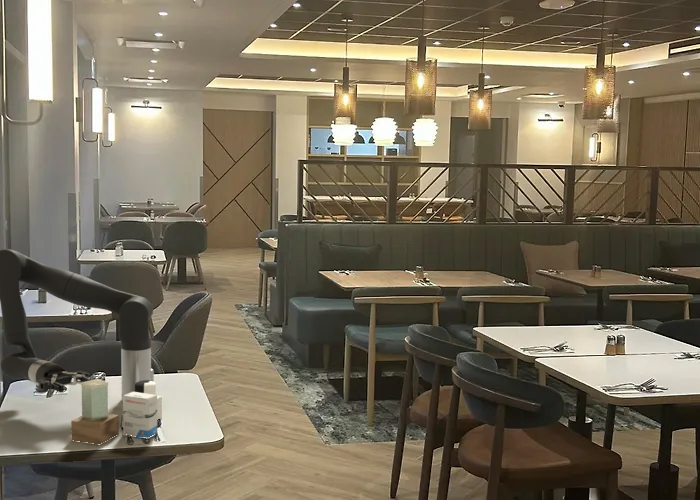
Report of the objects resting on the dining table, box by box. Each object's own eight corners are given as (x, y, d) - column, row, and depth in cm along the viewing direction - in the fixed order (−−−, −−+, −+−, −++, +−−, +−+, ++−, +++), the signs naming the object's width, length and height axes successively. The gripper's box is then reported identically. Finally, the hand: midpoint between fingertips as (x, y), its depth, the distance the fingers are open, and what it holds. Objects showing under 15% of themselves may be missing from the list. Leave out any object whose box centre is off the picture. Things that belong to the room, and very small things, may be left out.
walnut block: (92, 431, 227) (91, 411, 227) (118, 435, 224) (118, 415, 224) (71, 441, 219) (71, 420, 218) (99, 446, 216) (99, 425, 215)
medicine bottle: (128, 422, 234) (127, 383, 233) (142, 415, 241) (142, 377, 240) (148, 426, 232) (148, 386, 231) (162, 418, 239) (162, 380, 237)
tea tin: (98, 413, 225) (97, 378, 223) (108, 417, 221) (108, 382, 220) (81, 417, 221) (81, 382, 219) (91, 422, 217) (91, 386, 216)
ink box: (158, 434, 226) (158, 394, 224) (148, 440, 221) (148, 399, 220) (132, 430, 228) (132, 390, 227) (122, 435, 224) (122, 395, 222)
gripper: (23, 366, 231) (52, 377, 220) (68, 357, 242) (98, 368, 231) (24, 391, 232) (53, 404, 221) (68, 381, 242) (98, 393, 232)
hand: (76, 385), depth 226 cm, fingers open, 8 cm apart
